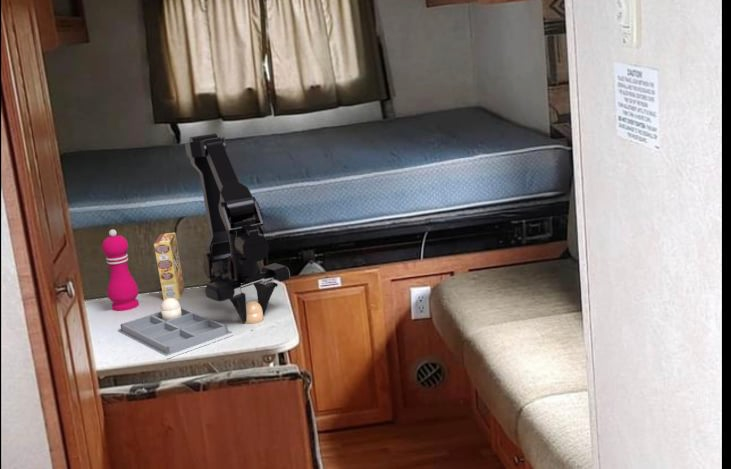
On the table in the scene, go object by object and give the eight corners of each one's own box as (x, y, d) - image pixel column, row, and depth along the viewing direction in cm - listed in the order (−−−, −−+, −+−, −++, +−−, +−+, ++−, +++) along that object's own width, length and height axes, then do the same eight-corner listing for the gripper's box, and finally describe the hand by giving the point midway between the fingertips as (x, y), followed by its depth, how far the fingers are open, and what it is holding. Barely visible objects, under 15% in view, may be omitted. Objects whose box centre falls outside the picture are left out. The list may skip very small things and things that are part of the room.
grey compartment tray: (181, 313, 223) (179, 304, 222) (233, 335, 205) (231, 325, 205) (117, 334, 213) (116, 324, 213) (166, 359, 196) (164, 349, 195)
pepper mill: (133, 314, 226) (119, 233, 220) (105, 315, 227) (90, 234, 222) (146, 303, 232) (132, 224, 227) (118, 304, 234) (105, 226, 229)
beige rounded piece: (256, 318, 214) (253, 296, 213) (267, 322, 211) (264, 300, 210) (240, 324, 212) (237, 302, 210) (251, 328, 208) (248, 306, 207)
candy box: (180, 302, 231) (171, 241, 227) (163, 304, 231) (153, 243, 227) (185, 290, 240) (176, 231, 236) (168, 292, 240) (159, 233, 235)
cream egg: (176, 315, 219) (173, 293, 218) (185, 319, 216) (182, 297, 215) (159, 320, 217) (155, 299, 215) (168, 325, 214) (165, 303, 212)
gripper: (259, 235, 219) (268, 299, 223) (187, 255, 208) (198, 323, 212) (287, 242, 210) (295, 309, 214) (214, 264, 199) (224, 334, 203)
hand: (253, 318), depth 211 cm, fingers closed on beige rounded piece, 4 cm apart
